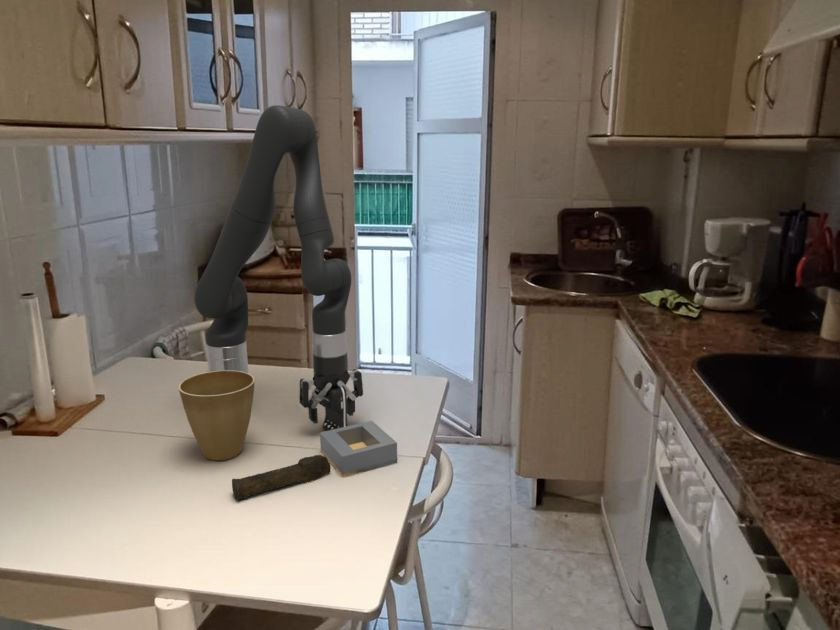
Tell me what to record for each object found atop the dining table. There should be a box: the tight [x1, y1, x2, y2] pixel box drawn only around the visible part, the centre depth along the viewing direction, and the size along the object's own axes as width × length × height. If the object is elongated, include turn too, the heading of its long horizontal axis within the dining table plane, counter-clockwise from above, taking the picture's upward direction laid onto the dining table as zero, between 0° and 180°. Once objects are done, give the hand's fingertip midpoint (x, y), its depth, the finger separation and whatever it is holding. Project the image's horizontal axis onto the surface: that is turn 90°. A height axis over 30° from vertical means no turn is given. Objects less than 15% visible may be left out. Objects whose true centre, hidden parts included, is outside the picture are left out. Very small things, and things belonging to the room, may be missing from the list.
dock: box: [319, 420, 398, 478], centre depth 131 cm, size 12×12×4 cm
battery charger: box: [318, 385, 348, 431], centre depth 142 cm, size 7×4×11 cm, turn 41°
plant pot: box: [178, 370, 256, 461], centre depth 132 cm, size 15×15×16 cm
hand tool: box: [231, 454, 332, 502], centre depth 120 cm, size 19×4×5 cm, turn 117°
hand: (332, 418), depth 143 cm, fingers open, 8 cm apart
